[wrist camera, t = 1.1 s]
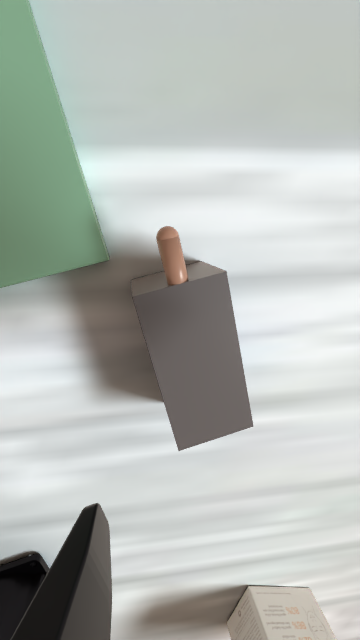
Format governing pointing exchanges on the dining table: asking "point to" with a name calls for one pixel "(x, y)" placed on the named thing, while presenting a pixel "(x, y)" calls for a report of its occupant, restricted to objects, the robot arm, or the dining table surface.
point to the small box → (278, 615)
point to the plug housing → (193, 345)
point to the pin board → (38, 164)
